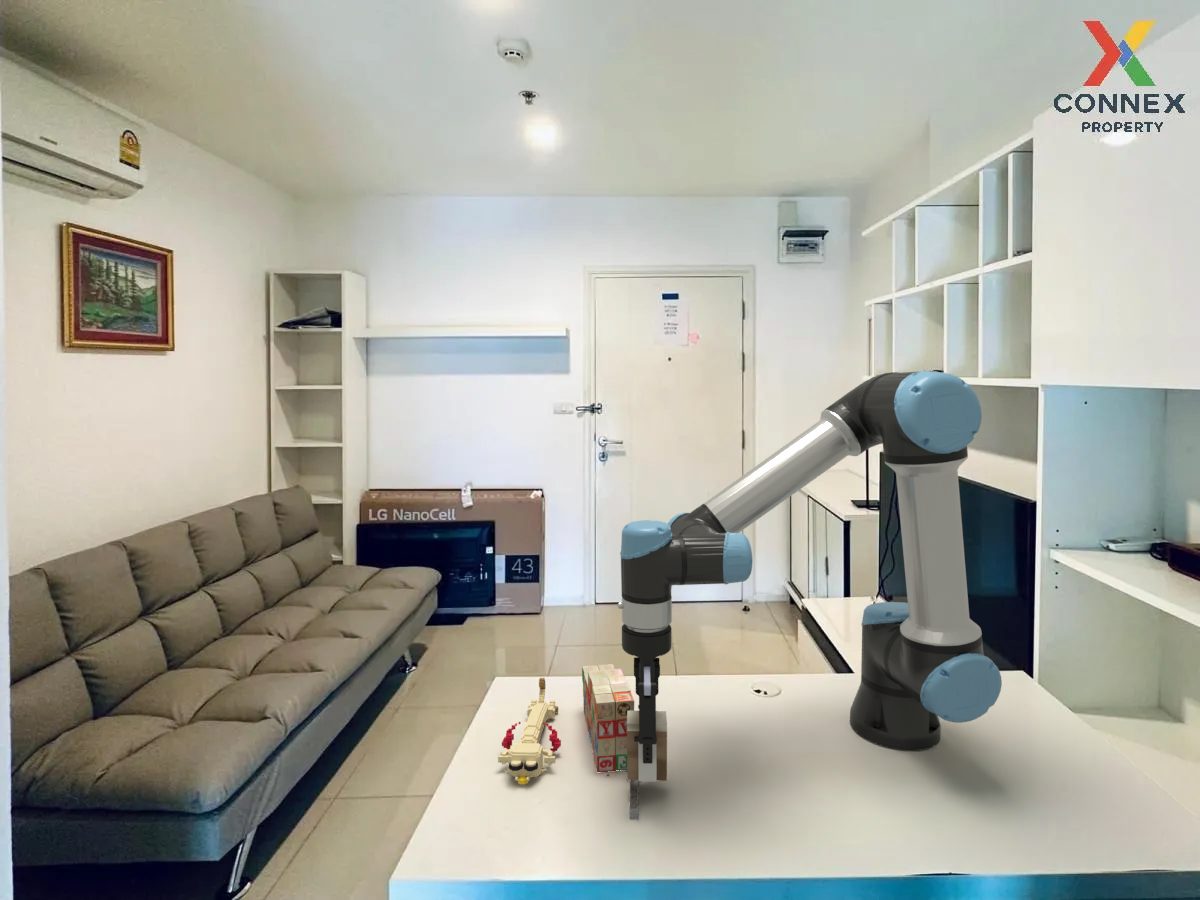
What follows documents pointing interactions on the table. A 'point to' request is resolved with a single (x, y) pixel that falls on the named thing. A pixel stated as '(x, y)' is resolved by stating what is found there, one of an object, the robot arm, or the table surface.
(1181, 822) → the table surface
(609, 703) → the stack of blocks
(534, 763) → the cream long toy figure
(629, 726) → the walnut block
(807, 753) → the table surface
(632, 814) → the grey bar
